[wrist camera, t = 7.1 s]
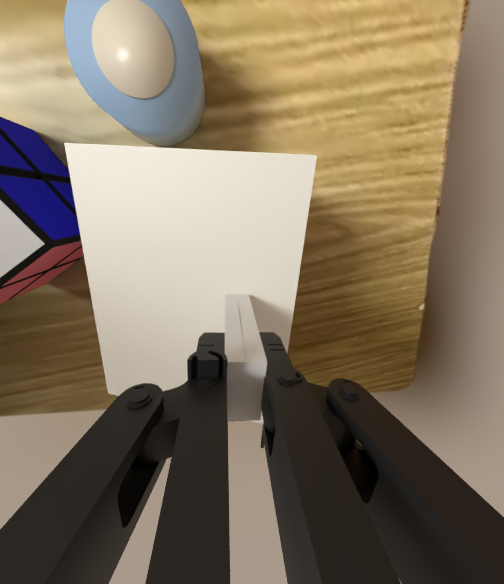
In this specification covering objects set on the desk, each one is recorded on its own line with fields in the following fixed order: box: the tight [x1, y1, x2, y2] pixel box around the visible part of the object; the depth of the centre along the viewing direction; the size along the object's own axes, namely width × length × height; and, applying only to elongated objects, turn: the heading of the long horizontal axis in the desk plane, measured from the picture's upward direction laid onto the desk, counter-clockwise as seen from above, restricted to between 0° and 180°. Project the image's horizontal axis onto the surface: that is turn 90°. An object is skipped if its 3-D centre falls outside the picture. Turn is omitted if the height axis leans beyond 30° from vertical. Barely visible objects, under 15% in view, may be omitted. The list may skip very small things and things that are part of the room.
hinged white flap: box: [64, 143, 317, 424], centre depth 16 cm, size 14×18×1 cm
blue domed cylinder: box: [64, 0, 205, 146], centre depth 17 cm, size 8×8×6 cm
